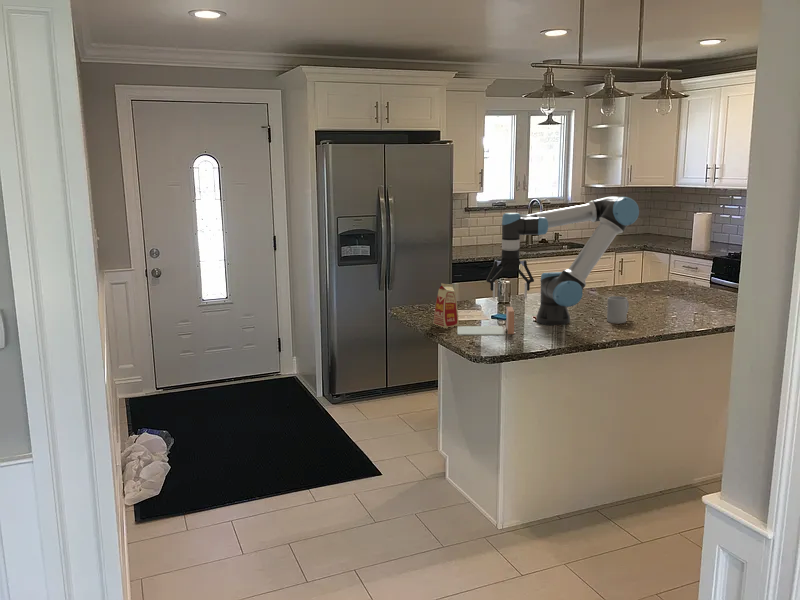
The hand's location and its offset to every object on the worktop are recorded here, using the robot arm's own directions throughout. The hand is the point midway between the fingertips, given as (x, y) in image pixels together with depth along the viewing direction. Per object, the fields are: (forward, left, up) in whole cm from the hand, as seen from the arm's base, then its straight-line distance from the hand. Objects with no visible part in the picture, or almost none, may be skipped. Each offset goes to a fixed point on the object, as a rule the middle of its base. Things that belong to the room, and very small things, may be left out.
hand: (509, 298), depth 295 cm
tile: (0, 0, -15) cm, 15 cm away
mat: (+13, 0, -15) cm, 20 cm away
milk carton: (+28, -12, -15) cm, 34 cm away
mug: (-51, -19, -15) cm, 57 cm away
